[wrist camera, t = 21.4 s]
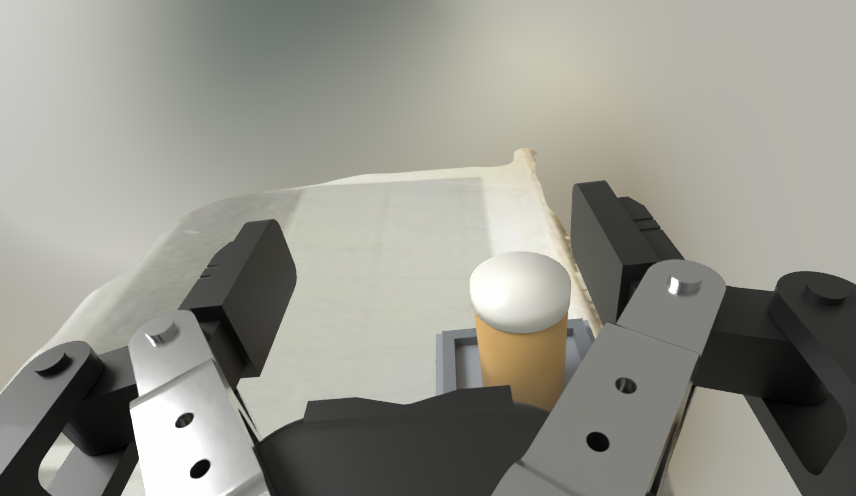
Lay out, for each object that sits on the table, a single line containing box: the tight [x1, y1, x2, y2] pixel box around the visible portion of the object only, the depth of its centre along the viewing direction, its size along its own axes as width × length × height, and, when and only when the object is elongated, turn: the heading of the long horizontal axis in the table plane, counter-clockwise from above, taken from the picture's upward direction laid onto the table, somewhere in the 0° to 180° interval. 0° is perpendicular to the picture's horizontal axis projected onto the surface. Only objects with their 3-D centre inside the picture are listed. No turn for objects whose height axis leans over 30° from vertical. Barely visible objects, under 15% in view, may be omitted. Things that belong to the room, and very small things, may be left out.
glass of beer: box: [470, 252, 571, 412], centre depth 32 cm, size 6×6×11 cm
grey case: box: [436, 318, 595, 396], centre depth 37 cm, size 13×13×8 cm
